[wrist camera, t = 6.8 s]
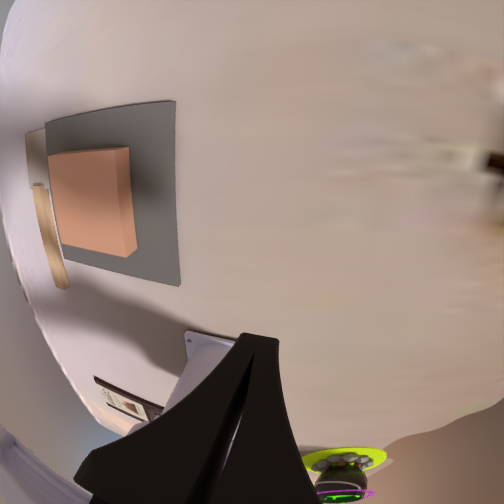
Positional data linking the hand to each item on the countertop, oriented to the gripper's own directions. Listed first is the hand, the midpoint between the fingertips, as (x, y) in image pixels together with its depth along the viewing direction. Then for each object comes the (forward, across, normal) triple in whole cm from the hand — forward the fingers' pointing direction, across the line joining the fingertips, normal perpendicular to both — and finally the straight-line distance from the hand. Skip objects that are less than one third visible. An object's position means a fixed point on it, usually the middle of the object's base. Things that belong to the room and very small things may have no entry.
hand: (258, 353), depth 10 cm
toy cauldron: (+10, -16, +38) cm, 42 cm away
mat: (+10, +15, -2) cm, 18 cm away
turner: (+10, +24, 0) cm, 26 cm away
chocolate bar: (+11, +18, +33) cm, 39 cm away
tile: (+8, +11, -2) cm, 14 cm away
